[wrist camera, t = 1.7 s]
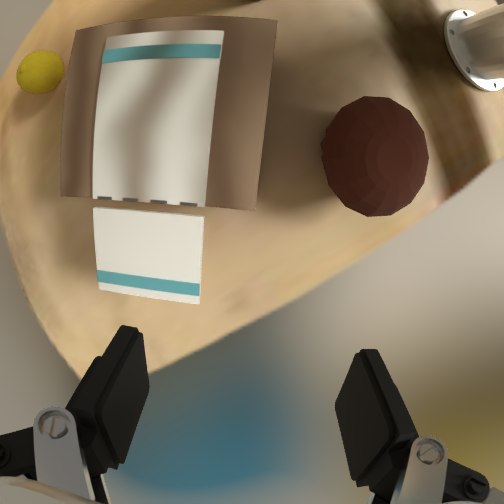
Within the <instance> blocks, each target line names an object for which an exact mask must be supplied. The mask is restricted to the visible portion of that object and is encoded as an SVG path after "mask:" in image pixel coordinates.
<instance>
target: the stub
mask: <svg viewBox="0 0 504 504" xmlns="http://www.w3.org/2000/svg"><path fill="white" fill-rule="evenodd" d="M93 222H94V240H95V253H96V264H97V278H98V283H99V290H105V291H111V292H117V293H123V294H129V295H135V296H142V297H149V298H155V299H162V300H169V301H177V302H184V303H192V304H199V303H200V288H201V266H202V247H203V230H204V216H203V215H193V214H182V213H171V212H159V211H148V210H135V209H122V208H109V207H94V208H93Z"/></svg>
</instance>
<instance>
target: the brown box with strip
mask: <svg viewBox="0 0 504 504" xmlns="http://www.w3.org/2000/svg"><path fill="white" fill-rule="evenodd" d="M277 22H278V21H277V20H269V19H259V18H247V17H230V16H178V17H161V18H149V19H140V20H131V21H124V22H117V23H111V24H105V25H100V26H95V27H90V28H85V29H81V30H76V33H75V38H74V42H73V47H72V52H71V58H70V63H69V69H68V76H67V83H66V91H65V99H64V109H63V120H62V136H61V196H71V197H91V198H93V199H103V200H118V201H133V202H147V203H160V204H172V205H183V206H194V207H205V206H210V207H220V208H230V209H240V210H249V211H255V207H256V199H257V190H258V182H259V173H260V165H261V156H262V148H263V139H264V131H265V122H266V114H267V106H268V97H269V89H270V80H271V72H272V64H273V55H274V47H275V39H276V30H277Z"/></svg>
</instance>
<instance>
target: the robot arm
mask: <svg viewBox="0 0 504 504" xmlns="http://www.w3.org/2000/svg"><path fill="white" fill-rule="evenodd" d="M444 36H445V42H446V45H447V48H448V51H449V53H450V55H451V58H452V59H453V61H454V63H455V65H456V66H457V68H458V69H459V71H460V72H461V73H462V74H463V76H464V77H465V78H466V79H467V80H468V81H469V82H470V83H472V84H473V85H474V86H476V87H477V88H479V89H482V90H484V91H497V90H500V89H501V88H503V87H504V4H501V5H498V6H495V7H493V8H490V9H487V10H485V11H482V12H480V13H475V12H473V11H470V10H466V9H459V10H456V11H454V12H452V13H450V14H449V15H448V16H447V18H446V20H445V24H444ZM148 393H149V379H148V372H147V364H146V357H145V348H144V340H143V334H142V333H141V332H139V331H138V328H136V327H130V326H125V325H122V326H121V327H120V328H119V330H118V331H117V333H116V334H115V336H114V337H113V339H112V341H111V342H110V344H109V346H108V347H107V349H106V350H105V352H104V354H103V355H102V357H101V356H97V357H96V358H95V359H94V360H93V362H92V364H91V365H90V367H89V368H88V370H87V372H86V373H85V375H84V377H83V378H82V380H81V382H80V384H79V385H78V387H77V389H76V390H75V392H74V394H73V396H72V397H71V399H70V401H69V403H68V404H67V406H66V408H65V409H64V408H61V407H48V408H45V409H43V410H41V411H40V412H39V413H38V414H37V416H36V417H35V419H34V425H33V427H30V428H26V429H23V430H19V431H16V432H12V433H8V434H4V435H0V504H111V501H110V498H109V494H108V491H107V488H106V484H105V481H104V477H103V474H104V473H106V472H107V469H108V467H109V468H113V469H116V470H117V469H118V465H119V463H121V464H123V463H124V462H125V459H126V456H127V453H128V450H129V447H130V444H131V441H132V438H133V435H134V433H135V430H136V427H137V424H138V421H139V418H140V415H141V413H142V410H143V407H144V404H145V401H146V399H147V396H148ZM335 411H336V415H337V419H338V423H339V427H340V431H341V436H342V440H343V444H344V449H345V453H346V457H347V462H348V466H349V471H350V475H351V478H352V480H353V481H355V480H356V484H357V487H362V486H368V485H369V489H370V491H371V494H370V497H369V500H368V502H367V504H504V492H502V491H500V490H498V489H497V488H495V487H492V488H491V489H490V487H489V483H488V481H487V479H486V478H485V476H483V475H482V474H481V473H478V472H476V471H474V470H471V469H470V468H467V467H465V466H463V465H461V464H459V463H456V462H454V461H452V460H450V459H448V450H447V447H446V445H445V444H444V443H443V441H441V440H440V439H439V438H437V437H434V436H430V435H425V436H421V437H419V435H418V433H417V431H416V428H415V426H414V424H413V421H412V419H411V417H410V415H409V413H408V410H407V408H406V406H405V404H404V402H403V400H402V397H401V395H400V393H399V391H398V389H397V387H396V385H395V384H394V383H393V380H392V379H391V376H390V374H389V372H388V370H387V368H386V366H385V364H384V362H383V360H382V358H381V356H380V354H379V352H378V350H376V349H362V350H360V352H359V353H356V354H355V356H354V359H353V361H352V364H351V366H350V369H349V371H348V374H347V376H346V378H345V381H344V383H343V386H342V388H341V390H340V393H339V395H338V398H337V400H336V402H335Z"/></svg>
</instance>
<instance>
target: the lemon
mask: <svg viewBox="0 0 504 504" xmlns="http://www.w3.org/2000/svg"><path fill="white" fill-rule="evenodd" d="M63 74H64V64H63V61H62V59H61V58H60V57H59V56H58V55H57V54H56V53H54V52H50V51H36V52H33V53H31V54H29V55H28V56H26V57H25V58H24V59H23V60H22V62H21V63H20V65H19V67H18V70H17V82H18V84H19V86H20V87H21V88H22V89H24V90H25V91H27V92H29V93H34V94H41V93H46V92H48V91H50V90H52V89H53V88H55V87H56V86H57V85H58V84H59V82H60V81H61V79H62V77H63Z"/></svg>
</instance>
